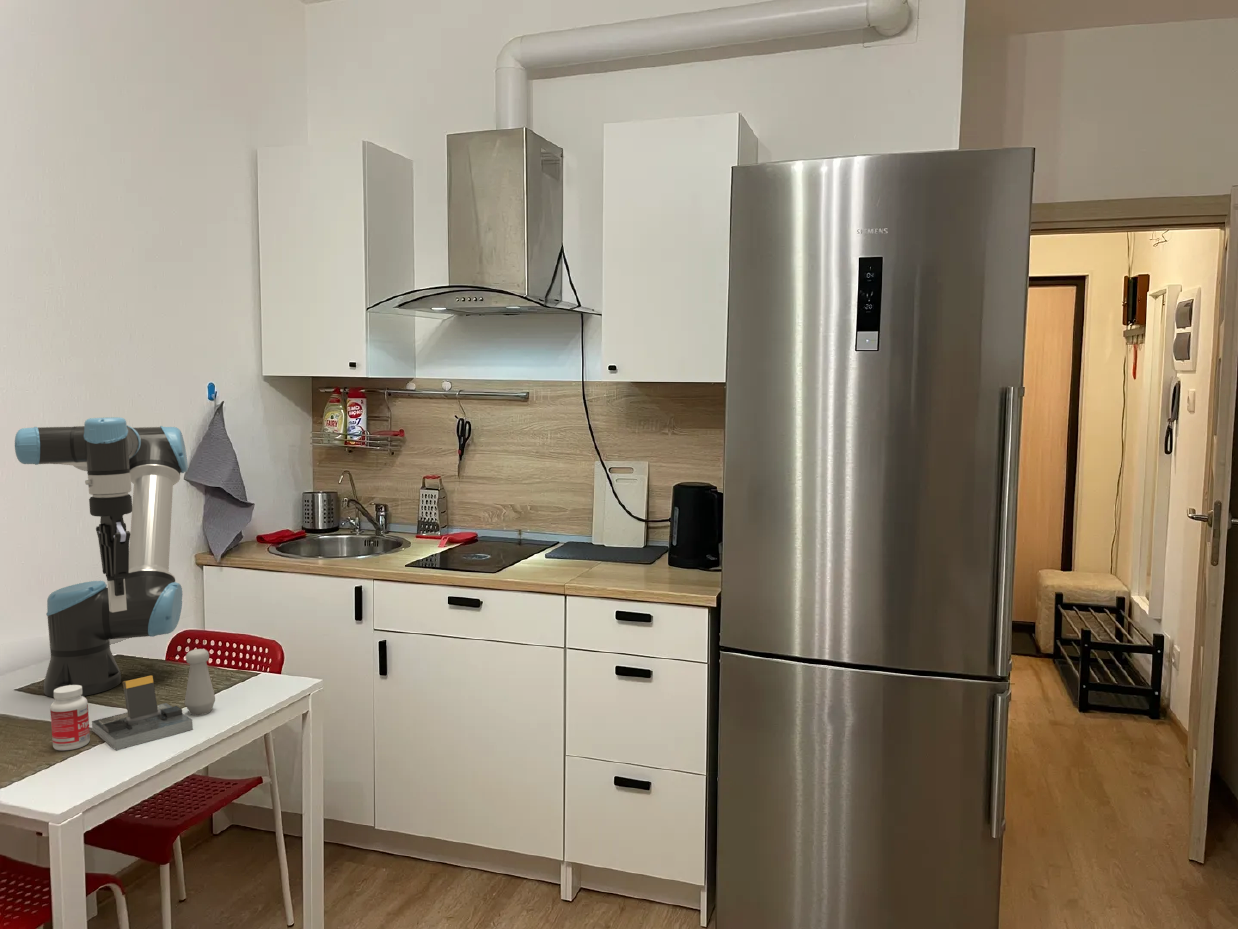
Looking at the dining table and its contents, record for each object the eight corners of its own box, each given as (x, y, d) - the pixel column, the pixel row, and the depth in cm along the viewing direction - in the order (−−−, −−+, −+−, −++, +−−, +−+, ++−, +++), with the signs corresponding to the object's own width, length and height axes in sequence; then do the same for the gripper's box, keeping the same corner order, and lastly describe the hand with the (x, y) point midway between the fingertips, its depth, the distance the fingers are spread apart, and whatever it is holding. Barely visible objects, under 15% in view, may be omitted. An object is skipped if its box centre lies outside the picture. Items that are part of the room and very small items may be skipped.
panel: (92, 731, 186) (91, 716, 186) (166, 712, 196) (165, 698, 196) (116, 750, 176) (115, 734, 176) (192, 729, 186) (191, 714, 186)
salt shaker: (204, 717, 193) (200, 655, 191) (179, 716, 194) (175, 654, 193) (221, 707, 198) (218, 647, 197) (197, 706, 200) (193, 646, 198)
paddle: (126, 724, 184) (119, 682, 184) (158, 715, 188) (152, 675, 189) (128, 724, 183) (122, 682, 183) (161, 715, 187) (155, 674, 187)
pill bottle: (84, 749, 177) (80, 692, 176) (48, 753, 176) (43, 695, 174) (94, 737, 183) (90, 682, 182) (59, 740, 182) (55, 684, 181)
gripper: (79, 494, 191) (87, 608, 193) (100, 499, 182) (108, 619, 184) (119, 490, 196) (126, 601, 199) (142, 495, 187) (149, 612, 189)
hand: (118, 610), depth 191 cm, fingers closed
